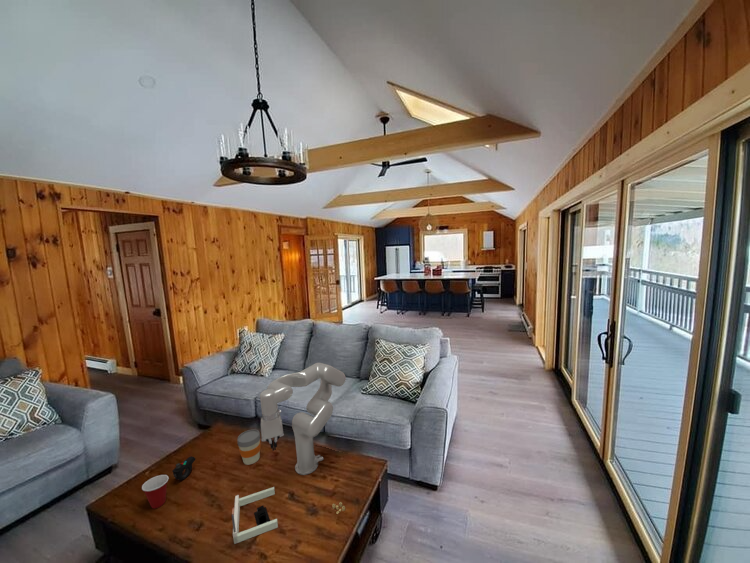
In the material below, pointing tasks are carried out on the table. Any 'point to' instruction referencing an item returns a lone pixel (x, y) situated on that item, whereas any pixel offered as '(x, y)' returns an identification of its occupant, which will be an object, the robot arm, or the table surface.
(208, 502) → the table surface
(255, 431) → the reusable coffee cup
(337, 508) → the dice set
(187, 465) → the controller
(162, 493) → the plastic cup
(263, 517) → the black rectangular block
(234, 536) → the frame
